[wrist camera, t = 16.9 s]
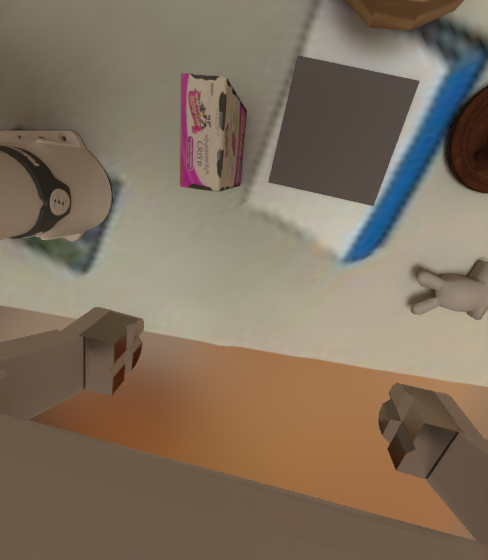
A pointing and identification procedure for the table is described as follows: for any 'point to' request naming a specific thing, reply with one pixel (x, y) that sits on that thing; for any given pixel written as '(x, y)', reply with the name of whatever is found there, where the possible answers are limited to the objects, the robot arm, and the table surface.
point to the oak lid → (401, 12)
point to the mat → (340, 129)
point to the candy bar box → (210, 133)
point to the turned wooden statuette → (471, 144)
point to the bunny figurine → (456, 291)
